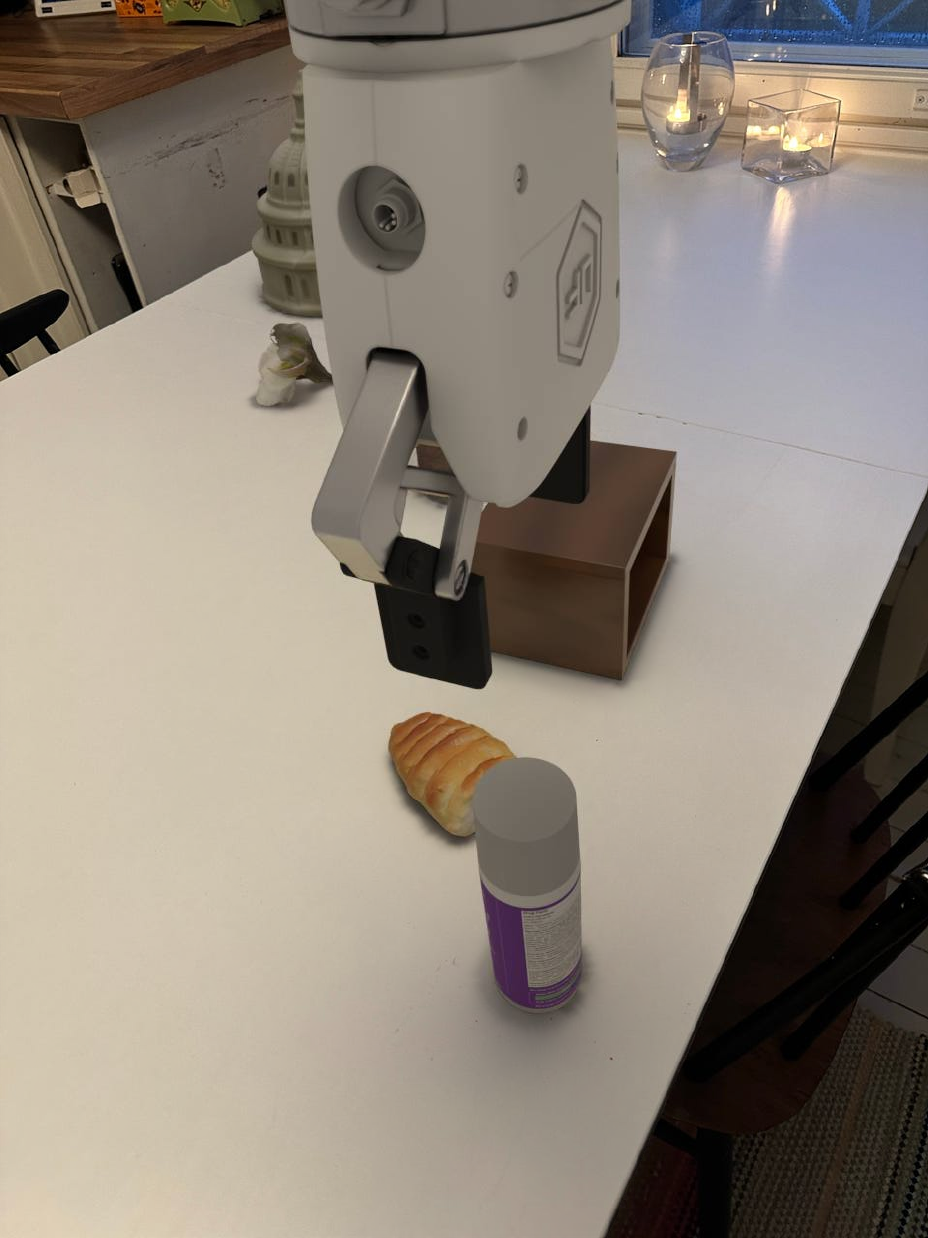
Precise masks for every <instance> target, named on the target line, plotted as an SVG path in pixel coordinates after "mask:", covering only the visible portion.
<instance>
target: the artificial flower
mask: <svg viewBox="0 0 928 1238" xmlns="http://www.w3.org/2000/svg"><path fill="white" fill-rule="evenodd" d="M269 336H270V340H271V343H269V344H268V346H267V348H266V349H265V350H264V352H262V353H260V357H259V360H258V361H259V362H258V373H259V374H260V377H261V378H262V380H261V382H260V384H259V386H258V387H257V390H256V396H255V400H256V402H257V404H258V405H259V406H264V407H271V406H274V405H275V406H276V405H277V404H278V403H289V402H291V400H292V398H293V396H294V392H295V391H296V385H297V384H296V381H301V380H309V381H310V382H312V383H314V384H325V383H326V384H327V383H333V379H332V373H330V371H328V370H327V368H326V367H325V366H324V365H323V364H322V362H321V361H320V359H319V357H318V355H317V352H316V350H315V348H314V345H313V340H312V337H311V336H310V333H309V331H308V328H307V327H306V325H304V324H303V323H301V322H294V323H284V322H282V323H281V322H278V323H277V324H274V325H273V326H272V328H271V330H270V333H269ZM272 337H274V340H273V338H272Z"/></svg>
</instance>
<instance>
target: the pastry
mask: <svg viewBox="0 0 928 1238" xmlns="http://www.w3.org/2000/svg"><path fill="white" fill-rule="evenodd" d="M387 750H388V754H389V755H390V757H391V759H392V761H393V762H394V765H395V771H396V773H397V775H399V777H400V778H401V780H402V782H403V783H404V785H405V787H406V791H407V793H408V795H409V796H410V797H411V798H412V799H413V800H415V801H417V802H419V803H420V804H421V805H422V807H423V808H424V809H425V810H426V811H427V812H428V814H429V815H431V817H432V818H433V819H434V820H435V821H436V822H437V823H438V824H439V825H440V826H441V828H442V829H444V830H445V831H447V832H448V833H449V834H452V835H453V836H458V837H468V836H471V835H473V834H475V826H474V816H473V806H472V796H473V791H474V788H475V786H476V784H477V782H478V780H479V779H480V778H481V776H482V775H483V774H484V773H485V772H486V771H487V770H489V769H490V768H491V767H493V766H494V765H496V764H498V763H500V762H503V761H506V760H509V759H513V758H518V757H517V756H516V755H515V754H514V753H513V752H512V751H511V749H510V748H509V746H508V744H506V743H505V741H503V740H500V739H499V738H497V737H494V736H493V735H492V734H491V733H490V732H488V731H487V730H485V729H484V728H483V727H479V726H477V725H475V724H473V723H467V722H465V721H463V720H460V719H456V718H453V717H451V716H446V715H444V714H442V713H433V712H431V711H426V712H421V713H418V714H416V715H413V716H412V717H410V718H407V719H406V720H405V721H402V722H398V723H395V724H394V725H393V726H392V728H391V730H390V736H389V738H388V745H387Z"/></svg>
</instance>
